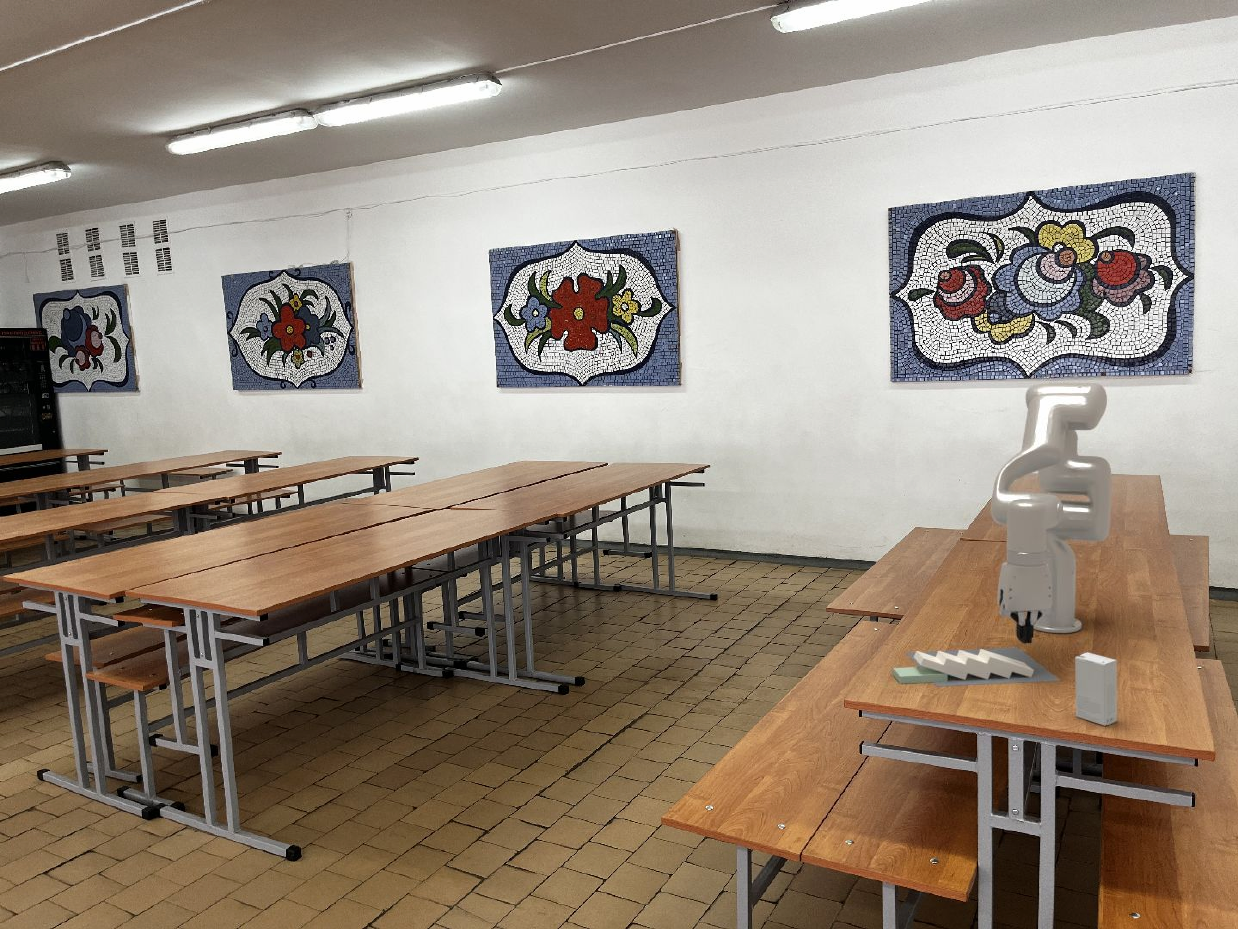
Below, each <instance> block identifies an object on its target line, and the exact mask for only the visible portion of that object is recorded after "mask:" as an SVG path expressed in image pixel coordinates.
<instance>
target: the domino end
mask: <svg viewBox="0 0 1238 929" xmlns="http://www.w3.org/2000/svg"><path fill="white" fill-rule="evenodd" d="M892 671H893V673H892V675H893V677H894V679H896V680H897V682H898V683H899V684H900V685H901V684H903V685H906V684H924V683H933V682H947V674H946V673H943V672H940V671H937V670H934V669H931V668H928V667H918V666H910V667H908V666H907V667H893V668H892Z"/></svg>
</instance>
